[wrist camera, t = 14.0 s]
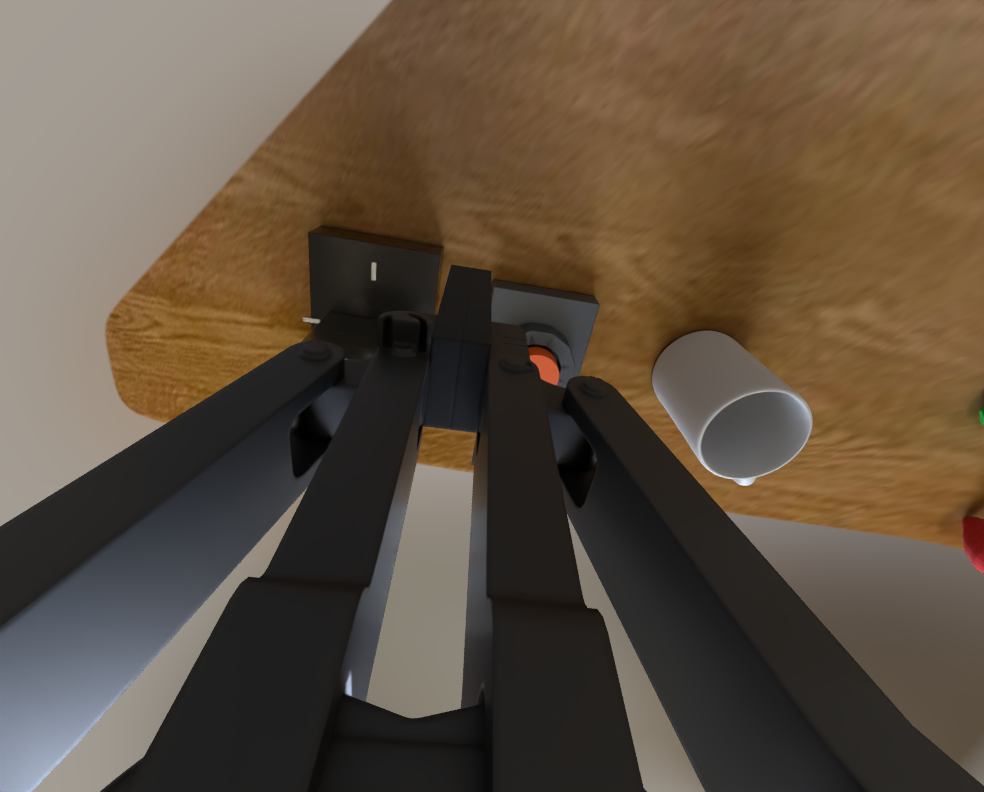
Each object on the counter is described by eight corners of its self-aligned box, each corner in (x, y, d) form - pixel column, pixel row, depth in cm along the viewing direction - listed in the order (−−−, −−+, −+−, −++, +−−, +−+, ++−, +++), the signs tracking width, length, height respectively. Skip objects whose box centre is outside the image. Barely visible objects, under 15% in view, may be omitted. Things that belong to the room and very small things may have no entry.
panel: (313, 224, 36) (299, 231, 33) (451, 247, 37) (448, 256, 34) (317, 376, 43) (306, 392, 40) (434, 392, 44) (430, 409, 41)
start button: (515, 342, 38) (516, 351, 36) (561, 350, 38) (564, 358, 36) (506, 384, 39) (507, 393, 38) (550, 390, 40) (553, 400, 38)
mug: (642, 347, 42) (688, 409, 32) (737, 316, 40) (814, 371, 31) (665, 445, 47) (709, 522, 38) (749, 420, 46) (817, 494, 36)
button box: (493, 279, 38) (493, 293, 35) (594, 296, 39) (604, 311, 36) (473, 398, 44) (471, 420, 41) (561, 411, 45) (567, 433, 42)
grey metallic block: (329, 333, 38) (291, 379, 30) (329, 311, 37) (290, 352, 30) (412, 346, 38) (395, 394, 31) (414, 324, 37) (396, 368, 30)
